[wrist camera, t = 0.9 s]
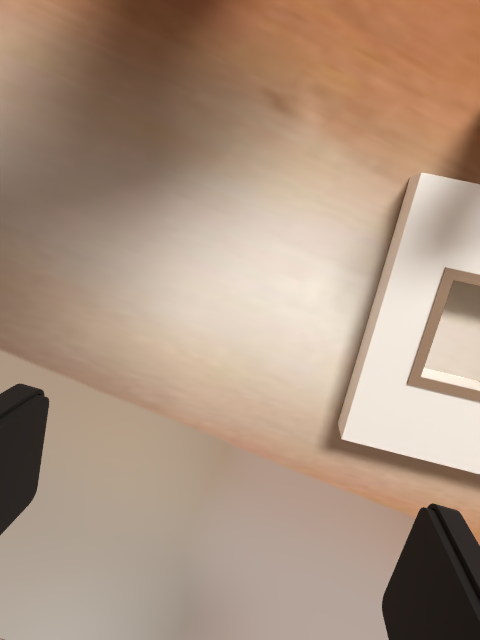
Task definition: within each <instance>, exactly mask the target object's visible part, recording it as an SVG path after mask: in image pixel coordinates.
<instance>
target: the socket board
mask: <svg viewBox="0 0 480 640" xmlns="http://www.w3.org/2000/svg"><path fill="white" fill-rule="evenodd" d="M453 280H455V281H460V282H464V283H469V284H473V285H478V286H480V184H476V183H471V182H466V181H461V180H456V179H451V178H446V177H441V176H436V175H432V174H427V173H422V172H421V173H419V174H417V175H415V176H412V177H410V180H409V183H408V186H407V190H406V193H405V197H404V200H403V203H402V207H401V210H400V214H399V217H398V220H397V224H396V227H395V231H394V234H393V237H392V241H391V244H390V247H389V251H388V254H387V258H386V261H385V264H384V268H383V271H382V275H381V278H380V281H379V285H378V288H377V292H376V295H375V298H374V302H373V305H372V309H371V312H370V315H369V319H368V322H367V326H366V329H365V332H364V336H363V339H362V343H361V346H360V349H359V353H358V356H357V360H356V363H355V366H354V370H353V373H352V377H351V380H350V383H349V387H348V390H347V394H346V397H345V400H344V404H343V407H342V411H341V414H340V417H339V421H338V426H339V431H340V435H341V439H342V440H346V441H350V442H354V443H358V444H362V445H366V446H370V447H374V448H378V449H382V450H386V451H390V452H394V453H398V454H402V455H405V456H409V457H413V458H417V459H421V460H425V461H429V462H433V463H437V464H441V465H445V466H449V467H453V468H457V469H461V470H465V471H469V472H473V473H477V474H480V381H476V380H472V379H468V378H463V377H459V376H455V375H451V374H447V373H442V372H438V371H434V370H430V369H426V368H424V366H425V363H426V360H427V357H428V354H429V351H430V348H431V345H432V342H433V339H434V336H435V333H436V330H437V327H438V324H439V321H440V318H441V315H442V312H443V309H444V306H445V303H446V300H447V298H448V295H449V292H450V289H451V286H452V283H453Z"/></svg>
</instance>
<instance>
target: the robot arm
mask: <svg viewBox="0 0 480 640" xmlns="http://www.w3.org/2000/svg"><path fill="white" fill-rule="evenodd" d="M48 408H49V399H48V398H47V397H44V392H43V391H42V390H41V389H38V388H34V387H31V386H27V385H24V384H17V385H15V386H13V387H11V388H10V389H8V390H6V391H4V392H3V393H1V394H0V535H1V534H2V533H3V532H4V531H5V530H6V529H7V527H8V526H9V525H10V524H11V523H12V522H13V521H14V520H15V519H16V518H17V517H18V516H19V515H20V513H21V512H22V511H23V510H24V509H25V508H26V507H27V506H28V505H29V504H30V503H31V501H32V499H33V498H34V496H35V494H36V491H37V486H38V479H39V472H40V465H41V456H42V450H43V443H44V436H45V428H46V422H47V415H48ZM382 612H383V617H384V621H385V625H386V630H387V633H388V638H389V640H480V546H479V544H478V542H477V541H476V539H475V537H474V536H473V534H472V532H471V530H470V529H469V527H468V525H467V524H466V522H465V520H464V518H463V517H462V515H461V514H460V512H459V511H457V510H454V509H450V508H447V507H444V506H440V505H437V504H430V505H429V506H428V508H424V507H423V508H421V509H420V511H419V512H418V515H417V517H416V519H415V522H414V524H413V527H412V529H411V532H410V534H409V536H408V538H407V541H406V544H405V546H404V548H403V550H402V553H401V555H400V558H399V560H398V562H397V565H396V567H395V570H394V572H393V574H392V576H391V579H390V581H389V583H388V586H387V588H386V591H385V593H384V596H383V601H382ZM0 640H4V639H1V638H0Z"/></svg>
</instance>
